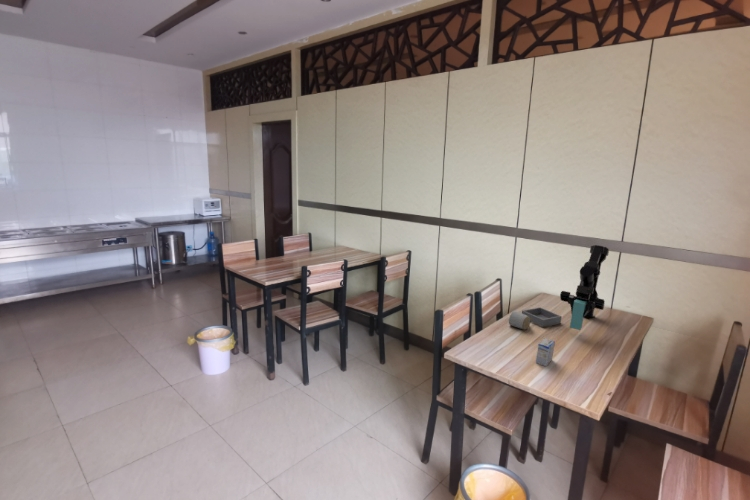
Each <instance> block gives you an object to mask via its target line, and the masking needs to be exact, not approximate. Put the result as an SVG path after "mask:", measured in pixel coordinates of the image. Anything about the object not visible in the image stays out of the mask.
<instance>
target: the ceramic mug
mask: <svg viewBox="0 0 750 500" xmlns="http://www.w3.org/2000/svg"><path fill="white" fill-rule="evenodd" d="M530 323H531V322H530V318H529V317H528V316H527V315H524V314H522V312H520V311H517V310H513V311H512V312H511V313H510V314H509V318H508V324H509V325H510V326H512V327H514V328H517V329H519V330H524V331H525V330H527V329H528V328H529V327H530Z"/></svg>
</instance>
